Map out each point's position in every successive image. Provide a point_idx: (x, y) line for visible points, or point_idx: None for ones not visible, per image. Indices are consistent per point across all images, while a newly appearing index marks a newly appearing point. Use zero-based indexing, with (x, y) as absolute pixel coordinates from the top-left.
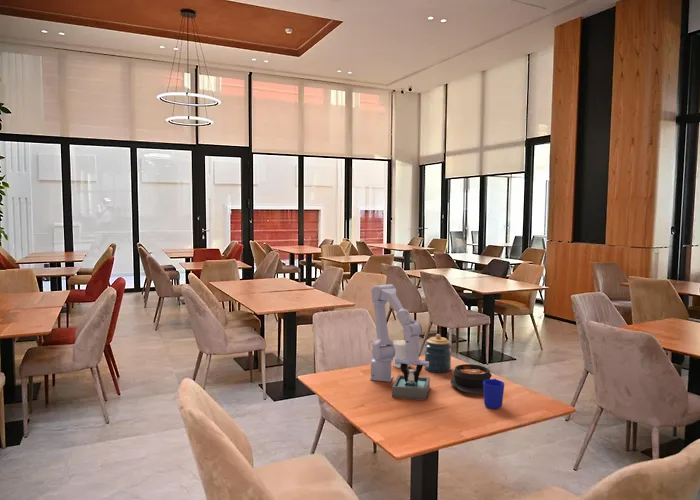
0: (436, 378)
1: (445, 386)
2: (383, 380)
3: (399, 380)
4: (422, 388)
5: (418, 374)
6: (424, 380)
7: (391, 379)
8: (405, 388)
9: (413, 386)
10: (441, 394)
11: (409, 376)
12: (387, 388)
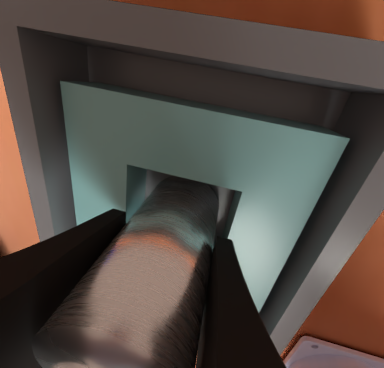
0: None
1: None
2: (346, 350)
3: (264, 310)
4: (70, 123)
5: (2, 261)
6: None
7: (290, 354)
8: (252, 24)
9: (159, 190)
10: (18, 163)
11: (168, 267)
12: (351, 256)
